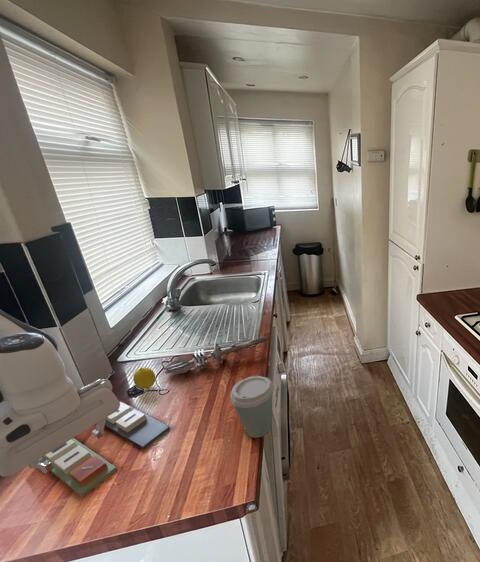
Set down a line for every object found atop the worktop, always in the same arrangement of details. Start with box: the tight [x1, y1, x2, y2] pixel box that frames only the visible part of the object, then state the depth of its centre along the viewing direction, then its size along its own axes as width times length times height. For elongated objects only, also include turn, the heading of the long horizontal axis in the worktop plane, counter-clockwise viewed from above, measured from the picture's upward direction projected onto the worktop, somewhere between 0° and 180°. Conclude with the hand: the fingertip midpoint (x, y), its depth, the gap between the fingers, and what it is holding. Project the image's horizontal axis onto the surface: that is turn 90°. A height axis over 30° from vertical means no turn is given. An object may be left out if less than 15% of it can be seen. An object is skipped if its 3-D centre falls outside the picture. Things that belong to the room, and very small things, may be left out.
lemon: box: [132, 366, 156, 390], centre depth 99 cm, size 6×6×8 cm
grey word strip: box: [104, 401, 171, 450], centre depth 86 cm, size 22×7×3 cm, turn 65°
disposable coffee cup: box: [229, 375, 275, 439], centre depth 81 cm, size 11×11×15 cm
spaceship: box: [163, 336, 270, 375], centre depth 110 cm, size 8×35×8 cm
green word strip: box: [39, 437, 118, 498], centre depth 75 cm, size 22×7×3 cm, turn 65°
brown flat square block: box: [69, 455, 108, 487], centre depth 72 cm, size 5×5×2 cm
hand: (75, 452), depth 69 cm, fingers open, 8 cm apart
